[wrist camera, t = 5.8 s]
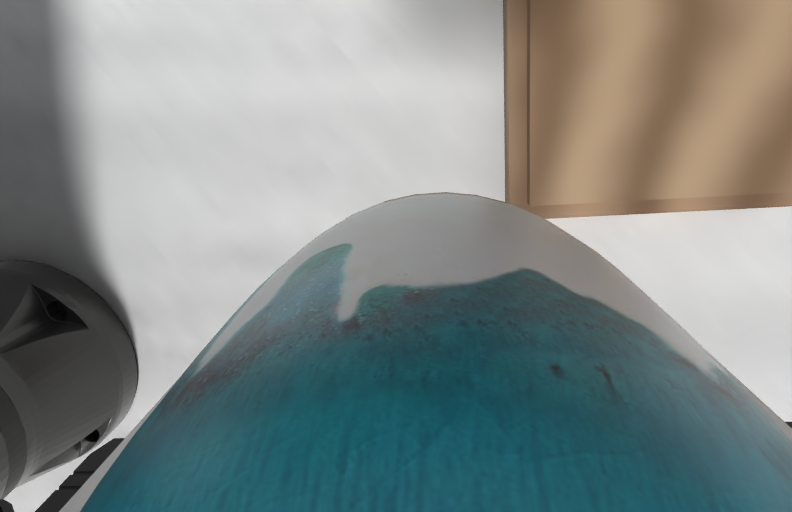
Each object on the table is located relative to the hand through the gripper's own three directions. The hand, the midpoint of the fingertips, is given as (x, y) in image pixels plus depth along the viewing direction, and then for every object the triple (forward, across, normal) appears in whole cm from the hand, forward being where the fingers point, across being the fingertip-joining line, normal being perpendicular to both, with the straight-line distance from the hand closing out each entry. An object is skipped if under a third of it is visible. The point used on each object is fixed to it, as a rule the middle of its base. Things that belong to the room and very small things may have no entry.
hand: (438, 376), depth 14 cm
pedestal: (+20, +12, +8) cm, 25 cm away
